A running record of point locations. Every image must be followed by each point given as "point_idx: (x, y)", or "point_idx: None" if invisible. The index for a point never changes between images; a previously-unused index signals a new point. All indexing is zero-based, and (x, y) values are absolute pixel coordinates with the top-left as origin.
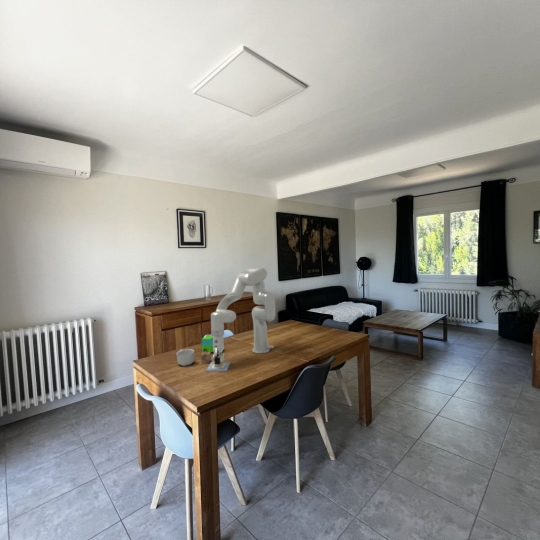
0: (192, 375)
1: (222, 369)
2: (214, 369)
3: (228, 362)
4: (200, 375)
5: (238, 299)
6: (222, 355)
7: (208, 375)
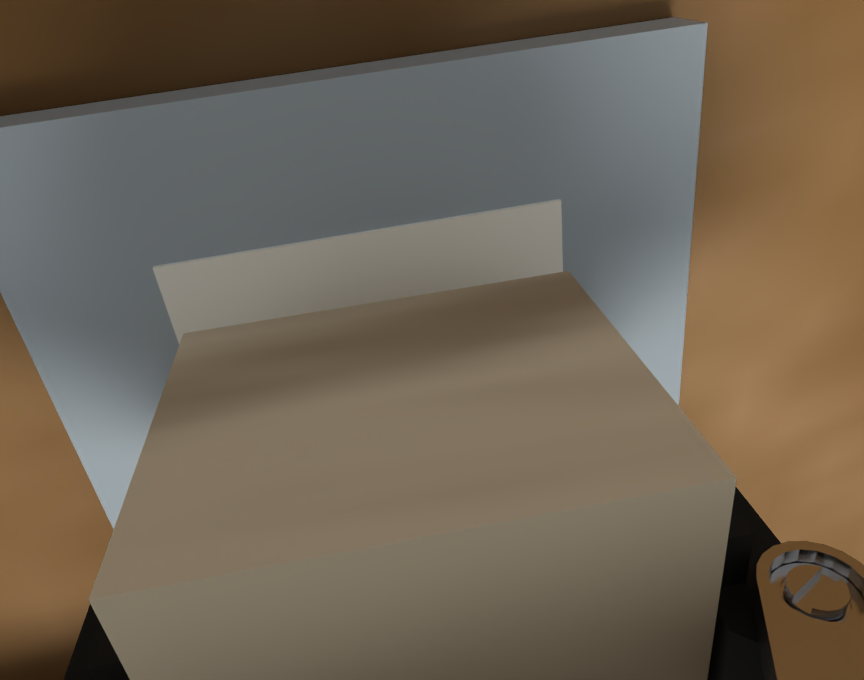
0: None
1: (691, 180)
2: (677, 398)
3: (28, 185)
4: (817, 539)
5: None
6: (564, 524)
7: (853, 406)
